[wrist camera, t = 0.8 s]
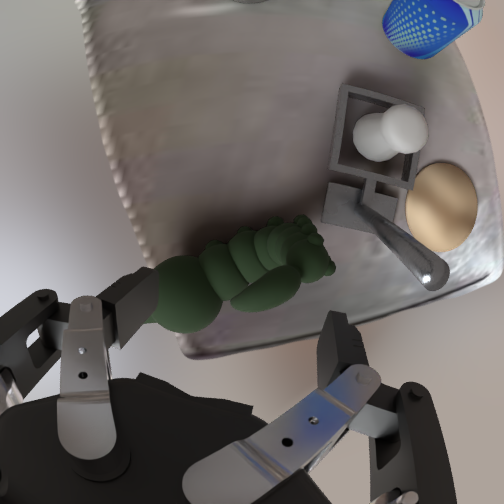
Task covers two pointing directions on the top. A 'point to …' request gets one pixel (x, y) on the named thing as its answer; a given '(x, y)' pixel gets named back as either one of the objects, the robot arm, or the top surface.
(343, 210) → the ring stand
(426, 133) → the salt shaker
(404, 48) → the beer can
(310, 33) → the top surface
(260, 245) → the toy figurine
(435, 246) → the disc
